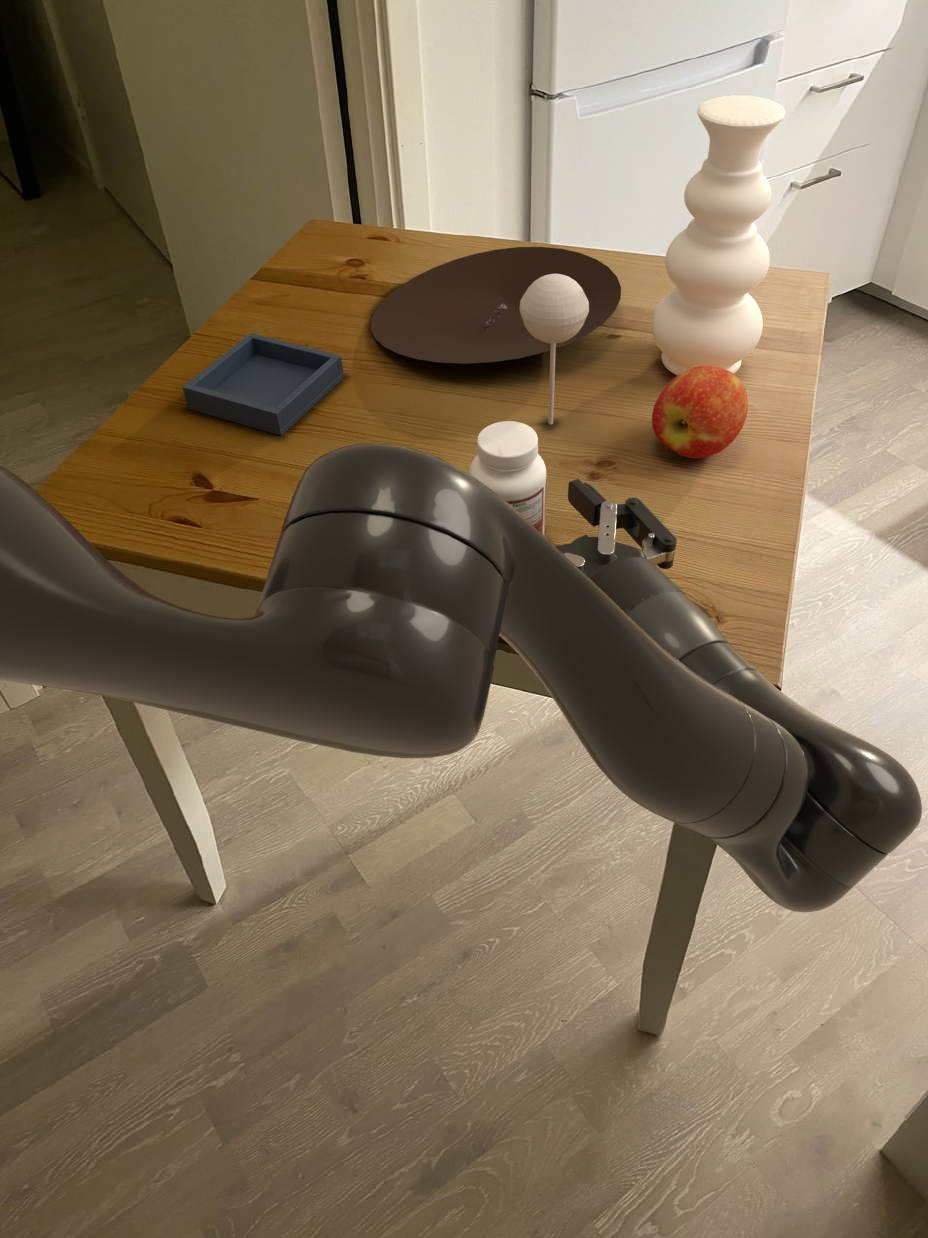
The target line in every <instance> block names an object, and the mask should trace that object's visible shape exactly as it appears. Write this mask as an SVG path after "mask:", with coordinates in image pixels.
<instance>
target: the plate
mask: <svg viewBox="0 0 928 1238" xmlns="http://www.w3.org/2000/svg"><path fill="white" fill-rule="evenodd" d="M549 274H561V275H565V276H568V277H570V278H572V279H573V280H575V281H576V282H577V283H578V284H579V285H580V287H581V288H582V290H583V291H584V293H585V295H586V297H587V299H588V302H589V312H588V315H587V317H586V319H585V322H584V324H583V326H582V328H581V329H580V330H579V332H578V333H577V334H576V335H575V336H573V337H572V338H570V339H568V340H566V341H564V342H561V343H556V347H555V349H559V348H561V347H564V346H567V345H570V344H572V343H573V342H575V341H577V340H579V339H581V338H584V337H586V336H587V335H589V334H590V333H592V332H593V331H595V330H597V329H598V328H599V327H601V326H602V325H603V324H604V323H606V321H608V319H609V318H610V317H611V316H612V315H613V314H614V313H615V311H616V309H617V308H618V305H619V303H620V302H621V297H622V286H621V283H620V280H619V278H618V276H617V275H616V273H615V272H614V271H613V270H612V269H611V268H610V267H609V266H608V265H606V264H604V263H603V262H602V261H600V260H598V259H597V258H595V257H592V256H590V255H587V254H584V253H581V252H579V251H574V250H569V249H565V248H559V247H547V246H516V247H506V248H498V249H492V250H487V251H482V252H477V253H473V254H470V255H466V256H463V257H459V258H455V259H453V260H451V261H447V262H444V263H442V264H439V265H437V266H434V267H432V268H430V269H428V270H426V271H424V272H422V273H420V274H418V275H416V276H414V277H412V278H411V279H409V280H408V281H406V282H404V283H403V284H401V285H400V286H398V287H397V288H396V289H395V290H394V291H392V292H391V293H390V294H388V295H387V296H386V297H385V298H384V299H383V301H381V303H380V304H378V306H377V307H376V309H375V311H374V312H373V314H372V317H371V319H370V330H371V332H372V335H373V337H374V339H375V340H376V341H378V343H380V344H381V346H383V347H384V348H386V349H387V350H390V351H391V352H394V353H396V354H398V355H401V356H405V357H407V358H408V357H409V358H412V359H414V360H420V361H427V362H434V363H442V364H443V363H444V364H463V365H464V364H481V363H482V364H483V363H495V362H496V363H497V362H503V361H509V360H517V359H518V360H519V359H522V358H526V357H530V356H531V357H532V356H534V355H539V354H544V353H546V352H550V348H551V343H546V342H542V341H540V340H538V339H537V338H535V337H534V336H533V335H531V334H530V333H529V331H528V330H527V328H526V327H525V325H524V322H523V319H522V316H521V313H520V301H521V299H522V297H523V295H524V294H525V292H526V291H527V289H528V287H529V286H530V285H531V284H532V283H533V282H534V281H536V280H537V279H539V278H540V277H542V276H545V275H549Z"/></svg>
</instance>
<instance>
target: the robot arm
mask: <svg viewBox="0 0 928 1238" xmlns="http://www.w3.org/2000/svg"><path fill="white" fill-rule="evenodd" d="M567 485H568V487H567V500H568V502H569V503H568V504H570V505H571V506H572V507H573V509H575V510H576V511H577V512H578V513H579V514H580V515H581V516H582V517H583V518H584V520H586V521H587V522H588V524H590V525H591V527H593V528H595V527H597V526H598V536H589V535H587V534H584V535H582V536H580V537H577V538H576V539H574V540H573V541H571V542H570V543H565V544H560V545H557V546H555V545H554V543H552V542H551V541H550V540H549V539H548V538H547V537H546V535H545V536H543V535H542V534H541V533H540V532H539V531H538V530H537V529H536V528H535V527H534V526H533V525H532V524H531V523H530V522H529V521H527V520H526V519H525V518H524V517H523V516H522V515H521V514H520V513H519V512H518V511H516V510H515V509H514V508H513V507H512V506H511V505H510V504H509V503H507V502H506V501H505V500H504V499H502V498H501V497H500V496H499V495H497V494H496V493H495V492H494V491H492V490H491V489H490V488H488V487H487V486H486V485H484V484H483V483H481V482H480V481H479V480H477V479H476V478H474V477H473V476H471V475H470V474H469V473H468V472H466V471H465V470H462V469H460V468H459V467H457V466H455V465H454V464H452V463H450V462H448V461H446V460H444V459H442V458H440V457H438V456H435V455H433V454H430V453H426V452H424V451H421V450H417V449H415V448H412V447H407V446H401V445H395V444H388V443H356V444H351V445H347V446H342V447H337V448H336V449H333V450H330V451H329V452H327V453H325V454H323V455H322V454H321V455H320V456H319V457H317V458H316V459H315V460H314V461H313V462H311V464H309V466H307V467H306V469H305V470H304V472H303V474H302V475H301V478H300V479H299V481H298V483H297V485H296V488H295V489H294V492H293V495H292V497H291V500H290V503H289V506H288V509H287V511H286V515H285V518H284V519H283V520H284V521H283V523H282V527H281V530H280V534H279V535H278V536H279V537H278V540H277V544H276V547H275V550H274V554H273V557H272V559H271V562H270V566H269V569H268V573H267V576H266V579H265V582H264V586H263V589H262V592H261V595H260V599H259V602H258V604H257V605H258V606H257V608H256V611H255V613H254V616H251V617H246V618H245V617H244V618H232V617H225V616H219V615H218V616H217V615H212V614H208V613H203V612H199V611H194V610H192V609H189V608H187V607H182V606H180V605H176V604H174V603H171V602H170V601H167V600H165V599H163V598H160V597H159V596H157V595H154V594H152V593H150V592H149V591H148V590H146V589H145V588H143V587H142V586H141V585H139V584H138V583H137V582H135V581H134V580H133V579H132V578H130V577H128V576H127V575H126V574H125V573H124V572H122V571H121V570H119V569H118V568H117V567H116V566H115V565H113V564H112V563H111V562H110V560H108V559H107V558H106V557H105V556H103V554H101V552H100V551H99V550H98V549H97V548H96V547H95V546H94V545H93V543H91V541H89V540H88V539H87V538H86V537H85V536H84V535H83V534H82V533H81V531H79V530H78V529H77V528H76V527H75V526H74V525H73V524H72V523H71V521H69V520H68V519H67V518H66V517H65V516H64V515H63V514H62V513H61V512H60V511H59V510H58V509H57V508H56V507H55V506H53V504H52V503H50V502H49V501H48V500H47V499H46V498H45V497H43V495H41V494H40V493H39V492H38V491H37V489H35V488H34V487H33V486H32V485H30V484H29V483H27V482H26V481H25V480H23V479H22V478H21V477H20V476H19V475H17V474H15V473H13V472H12V471H11V470H9V469H7V468H5V467H3V466H2V465H0V681H4V682H11V683H18V684H25V685H32V686H38V687H39V686H40V687H45V688H53V689H59V690H64V691H65V690H66V691H72V692H76V693H77V692H78V693H84V694H90V695H96V696H101V697H105V698H111V699H116V700H120V701H126V702H130V703H134V704H139V705H144V706H148V707H152V708H156V709H160V710H164V711H170V712H174V713H177V714H183V715H187V716H191V717H195V718H199V719H203V720H209V721H212V722H216V723H221V724H225V725H229V726H234V727H238V728H243V729H246V730H251V731H255V732H258V733H259V732H260V733H263V734H267V735H273V736H276V737H281V738H285V739H288V740H289V739H290V740H294V741H298V742H303V743H307V744H312V745H317V746H322V747H325V748H326V747H327V748H332V749H336V750H341V751H345V752H349V753H355V754H356V753H357V754H361V755H369V756H374V757H381V758H383V757H384V758H392V759H393V758H394V759H431V758H438V757H444V756H450V755H452V754H456V753H458V752H459V751H461V750H463V749H464V748H466V747H468V746H469V745H470V744H472V742H473V741H475V739H476V737H477V736H478V734H479V732H480V729H481V727H482V723H483V720H484V717H485V712H486V708H487V704H488V700H489V694H490V689H491V685H492V680H493V674H494V670H495V666H494V665H495V661H496V655H497V649H498V643H499V640H500V638H501V639H502V640H503V641H505V643H506V644H508V645H509V646H510V647H511V648H512V649H513V650H514V651H515V652H516V653H517V654H518V655H519V657H520V658H522V660H523V661H524V663H526V665H527V666H528V667H529V669H530V670H531V671H532V672H533V674H535V676H536V677H537V678H538V680H539V681H540V682H541V684H542V685H543V686H544V688H545V689H546V691H547V692H548V694H549V695H550V697H551V698H552V699H553V701H554V702H555V704H556V706H558V708H559V710H560V711H561V713H562V715H563V716H564V718H565V720H566V721H567V723H568V724H569V725H570V727H571V729H572V730H573V732H574V733H575V735H576V736H577V738H578V739H579V741H580V743H581V744H582V745H583V747H584V749H585V750H586V752H587V754H588V755H589V757H590V758H591V759H592V761H593V763H595V765H596V766H597V767H598V768H599V770H600V771H601V772H602V773H603V774H604V775H605V776H606V777H607V779H608V780H609V781H610V782H611V783H612V784H613V785H614V786H615V787H616V788H617V789H618V790H619V791H620V792H621V793H622V794H624V795H625V796H626V797H627V798H628V799H630V800H631V801H633V802H634V803H635V804H637V805H639V806H640V807H641V808H643V809H645V810H647V811H648V812H650V813H652V814H654V815H656V816H658V817H660V818H663V819H665V820H667V821H670V822H671V823H674V824H676V825H678V826H681V827H682V828H685V829H687V830H689V831H691V832H694V833H696V834H698V835H701V836H703V837H705V838H707V839H709V840H710V841H711V842H713V843H714V844H715V845H716V846H718V847H719V848H720V849H722V850H723V851H724V852H725V853H726V854H728V855H729V856H730V857H731V858H732V859H733V860H734V861H735V862H736V864H738V865H739V867H740V868H741V870H743V871H744V873H745V874H746V875H747V877H748V878H749V879H750V880H751V881H752V883H753V884H754V885H755V886H756V887H757V888H758V889H759V890H760V891H761V892H762V893H763V894H764V895H765V896H766V897H767V898H768V899H770V900H771V901H772V902H773V903H774V904H777V905H778V906H780V907H782V908H784V909H786V910H787V911H792V912H795V913H813V912H814V913H815V912H818V911H822V910H825V909H828V908H829V907H832V906H833V905H834V904H836V903H838V902H839V901H840V900H841V899H842V898H844V897H845V896H846V894H848V893H849V892H850V891H851V890H852V889H853V888H854V887H855V886H857V885H858V883H859V882H861V881H862V880H863V879H864V878H865V877H866V876H867V875H868V874H869V873H870V872H871V871H872V870H873V869H874V868H876V867H877V866H878V865H879V864H880V863H881V862H882V861H883V860H884V859H885V858H887V856H889V854H891V853H892V852H894V851H895V850H896V849H897V848H898V847H899V846H900V845H901V844H902V843H903V842H905V840H907V838H908V837H909V836H911V835H912V834H913V832H914V831H915V830H916V828H917V827H918V826H919V824H920V822H921V820H922V813H923V805H922V803H923V802H922V797H921V795H920V792H919V788H918V786H917V784H916V782H915V780H914V778H913V777H912V775H911V774H910V773H909V772H908V770H907V769H906V768H905V767H904V765H902V763H900V762H899V761H898V760H897V759H896V758H895V757H893V756H892V755H891V754H889V753H887V752H886V751H884V750H882V749H881V748H880V747H877V746H876V745H874V744H872V743H871V742H868V741H866V740H864V739H862V738H860V737H859V736H856V735H855V734H853V733H850V732H849V731H847V730H845V729H843V728H842V727H839V726H837V725H835V724H833V723H831V722H830V721H828V720H825V719H824V718H822V717H820V716H818V715H817V714H815V713H813V712H812V711H810V710H808V709H807V708H805V707H804V706H802V705H800V704H799V703H798V702H796V701H795V700H794V699H791V698H790V697H789V696H788V695H786V694H785V693H784V692H782V691H781V690H780V689H778V688H777V687H776V686H775V685H774V684H773V683H772V682H770V680H768V678H766V677H765V676H764V674H762V673H760V671H759V670H758V669H757V668H756V667H755V666H753V665H752V663H750V661H748V659H746V658H745V657H744V656H743V655H742V653H740V651H738V650H737V649H736V648H735V647H734V646H733V645H732V644H731V643H730V642H729V640H728V639H727V638H726V637H725V636H724V634H723V633H722V631H721V630H720V628H719V627H718V626H717V625H716V624H715V623H714V621H713V620H712V619H711V617H709V616H708V615H707V614H706V613H705V612H704V611H703V610H702V609H701V608H700V607H699V606H698V605H697V604H696V603H695V601H693V600H692V599H691V598H690V597H689V596H687V594H686V593H685V592H683V590H682V589H680V588H679V586H678V585H676V584H675V583H674V581H672V580H671V579H670V578H669V577H668V576H667V574H666V573H664V571H662V570H669V569H671V568H672V567H673V565H674V560H675V553H676V549H677V542H678V540H677V539H678V538H677V537H676V535H674V534H673V533H672V532H671V531H670V529H668V528H667V526H666V525H664V523H662V521H661V520H660V519H659V518H658V517H657V516H656V515H655V514H654V513H653V512H652V511H651V510H650V509H649V508H648V507H647V506H646V505H645V504H644V503H643V501H642V500H641V499H639V498H638V497H628V498H626V500H625V502H624V503H616V502H614V500H607V499H606V498H605V497H604V496H603V495H602V494H601V493H600V492H599V491H598V490H597V489H595V488H594V487H593V486H592V485H591V484H589V483H587V482H582V481H581V480H580V479H579V478H576V479H573V480H571V481H569V482H568V484H567ZM619 529H623V530H624V532H626V533H627V534H628V535H629V536H630V537H631V538H632V540H633V541H634V542H635V543H636V544H637V545H638V546H639V547H640V548H638V547H637V546H632V545H629V544H625V543H623V542H618V541H616V536H617V535H616V532H617V530H619ZM661 569H662V570H661Z"/></svg>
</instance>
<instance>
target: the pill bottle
mask: <svg viewBox="0 0 928 1238" xmlns="http://www.w3.org/2000/svg"><path fill="white" fill-rule="evenodd" d="M476 445H477V446H476V449H477V450H476V452H477V455H475V457H474V458H473V459H472V461H471V463H470V466H469V471H468V472H469V473H468V474H470V475H471V476H473V477H474V478H476V479H477V480H479V481H480V482H481V483H483V484H484V485H486V486H487V487H488V488H490V489H491V490H492V491H494V492H495V493H496V494H497V495H499V496H500V497H501V498H502V499H504V500H505V501H506V502H507V503H509V504H510V505H511V506H512V507H513V508H514V509H515V510H516V511H518V512H519V513H520V514H521V515H522V516H523V517H524V518H525V519H526V520H527V521H529V522H530V523H531V524H532V525H533V526H534V527H535V528H536V529H537V530H538V531H539V532H540V533H541V534H542V535H543V536H545V537H546V510H547V509H546V508H547V507H546V506H547V505H546V504H547V479H548V478H547V467H546V464H545V461H544V460H543V458H542V456H541V455H540V454H539V437H538V434H537V432H536V430H535V429H533V428H532V427H531V426H530V425H528V424H526V423H523V422H520V421H513V420H506V421H505V420H504V421H497V422H494V423H492V424H489V425H487V426H485V427H484V428H483V429H481V431H479V434H478V436H477V441H476Z"/></svg>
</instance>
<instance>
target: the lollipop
mask: <svg viewBox="0 0 928 1238" xmlns="http://www.w3.org/2000/svg"><path fill="white" fill-rule="evenodd" d="M588 312H589V302H588V299H587V297H586V295H585V293H584V291H583V290H582V288H581V287H580V285H579V284H578V283H577V282H576V281H575V280H573V279H572V278H570V277H568V276H565V275H561V274H549V275H545V276H542V277H540V278H539V279H537V280H536V281H534V282H533V283H532V284H531V285H530V286H529V287H528V289H527V291H526V292H525V294H524V295H523V297H522V299H521V301H520V313H521V316H522V319H523V322H524V325H525V327H526V328H527V330H528V331H529V333H530V334H531V335H533V336H534V337H535V338H537V339H538V340H540V341H542V342H546V343H551V348H550V351H549V352H550V353H549V385H548V387H549V388H548V389H549V391H548V419H547V420H548V422H547V423H548V425H553V424H554V407H555V406H554V403H555V376H556V373H555V372H556V348H555V347H556V343H561V342H564V341H566V340H568V339H570V338H572V337H573V336H575V335H576V334H577V333H578V332H579V330H580V329H581V328H582V326H583V324H584V322H585V319H586V317H587V315H588Z"/></svg>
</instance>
